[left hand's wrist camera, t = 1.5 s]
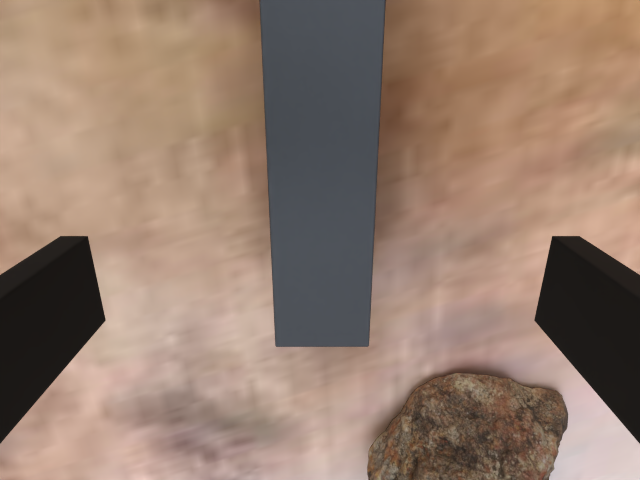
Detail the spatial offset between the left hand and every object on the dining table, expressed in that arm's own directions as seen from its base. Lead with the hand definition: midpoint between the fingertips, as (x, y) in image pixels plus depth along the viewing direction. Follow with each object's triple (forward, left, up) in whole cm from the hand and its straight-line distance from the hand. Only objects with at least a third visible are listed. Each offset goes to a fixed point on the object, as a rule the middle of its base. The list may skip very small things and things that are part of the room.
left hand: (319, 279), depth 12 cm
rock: (+20, +6, -14) cm, 26 cm away
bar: (-34, +7, -14) cm, 37 cm away
